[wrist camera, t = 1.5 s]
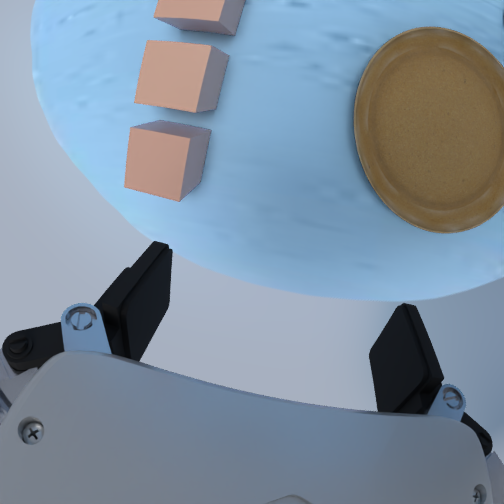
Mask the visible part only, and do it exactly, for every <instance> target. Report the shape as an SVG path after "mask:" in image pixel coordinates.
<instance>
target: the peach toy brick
mask: <svg viewBox="0 0 504 504" xmlns="http://www.w3.org/2000/svg"><path fill="white" fill-rule="evenodd" d="M244 3H245V0H158V3H157V7H156V10H155V13H154V18H156V19H158V20H161V21H163V22H165V23H167V24H170V25H172V26H174V27H176V28H178V29H180V30H192V31H202V32H211V33H219V34H226V35H233V36H235V34H236V30H237V27H238V23H239V20H240V17H241V13H242V10H243V7H244Z"/></svg>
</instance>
